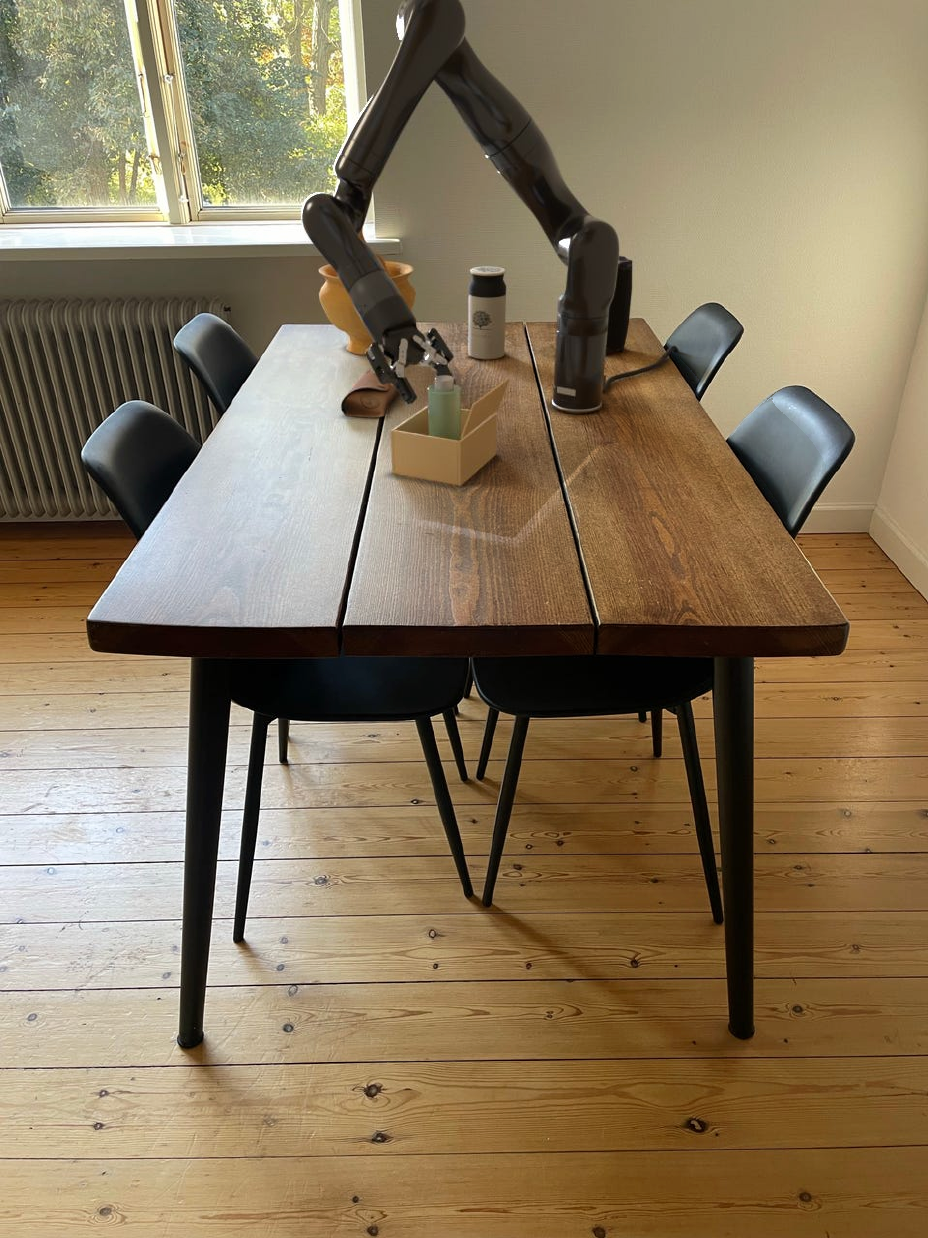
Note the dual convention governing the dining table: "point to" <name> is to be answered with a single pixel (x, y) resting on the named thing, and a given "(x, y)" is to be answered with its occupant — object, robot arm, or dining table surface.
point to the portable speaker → (620, 307)
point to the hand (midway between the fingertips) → (433, 395)
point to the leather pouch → (368, 397)
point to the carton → (441, 449)
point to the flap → (484, 407)
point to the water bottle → (444, 408)
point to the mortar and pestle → (343, 309)
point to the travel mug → (487, 313)
